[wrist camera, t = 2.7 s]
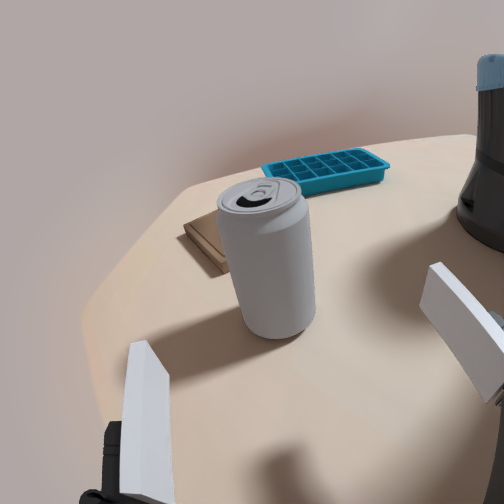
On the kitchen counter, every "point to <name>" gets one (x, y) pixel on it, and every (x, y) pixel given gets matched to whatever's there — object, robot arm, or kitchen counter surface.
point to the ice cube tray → (330, 170)
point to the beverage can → (269, 254)
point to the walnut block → (208, 239)
